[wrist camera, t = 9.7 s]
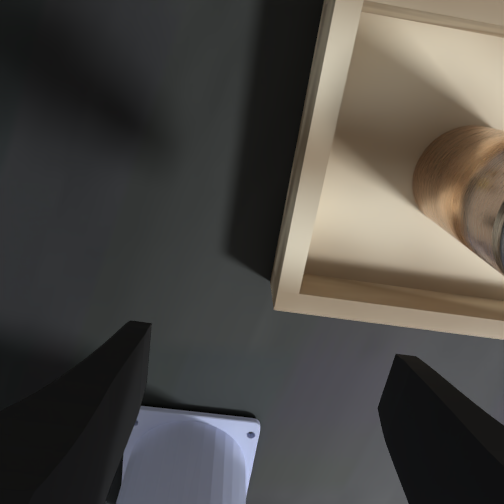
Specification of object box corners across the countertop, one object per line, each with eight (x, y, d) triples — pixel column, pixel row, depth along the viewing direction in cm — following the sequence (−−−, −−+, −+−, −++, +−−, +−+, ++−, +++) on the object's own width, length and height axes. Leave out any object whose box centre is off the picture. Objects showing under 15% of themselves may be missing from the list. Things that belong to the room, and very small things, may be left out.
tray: (552, 319, 24) (592, 351, 22) (270, 281, 23) (274, 309, 20) (681, 46, 19) (755, 41, 17) (327, -20, 18) (343, -38, 15)
